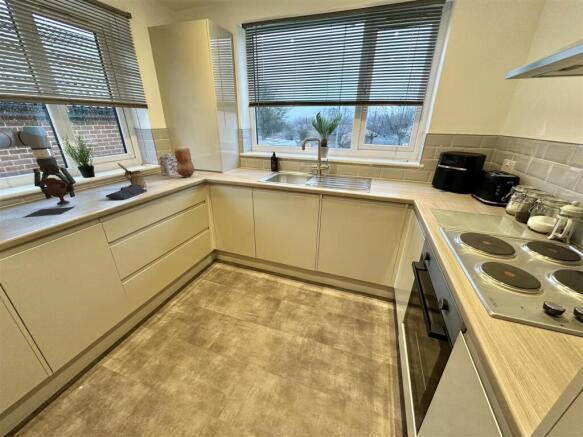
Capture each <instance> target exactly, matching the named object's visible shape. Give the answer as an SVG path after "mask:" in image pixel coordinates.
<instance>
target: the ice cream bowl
mask: <svg viewBox="0 0 583 437" xmlns="http://www.w3.org/2000/svg"><path fill="white" fill-rule="evenodd" d="M44 184H45V186H47V188H45V189H44V191H45V192H46V193H47V194H49V195H51V197H55V198H59V201H58V202H57V203H56V205H57V206H64V205H67V204H68V205H69V204H70V203H71V202H70V201H69V200H65V198H64V197H65V196H67V195H68V194H69V191H68V189H67V186H68V185H67V184H66V183H65V182H63V181H62V180H61V179H60V178H56V177H48V178H47V179H46V180H45V181H44Z"/></svg>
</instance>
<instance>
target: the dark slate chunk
mask: <svg viewBox="0 0 583 437" xmlns="http://www.w3.org/2000/svg"><path fill="white" fill-rule="evenodd" d="M147 191H148V190H147V188H144V187H143V188H142V186H140V185H135V184H131V183H130V184H129V185H127V186H126V185H125V186H122V187H120V190H116V191H114V192H111V193H108V194H106V195H105V198H108V199H116V200H127V199H130V198H134V197H136V196H139V195H142V194H143V193H147Z"/></svg>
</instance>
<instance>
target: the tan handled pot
mask: <svg viewBox="0 0 583 437" xmlns="http://www.w3.org/2000/svg"><path fill="white" fill-rule="evenodd" d="M116 164H117V165H118V166H119V167H120V168H121V169H122V170H123V171H124V177H125V179H127V180H128V182H130V185H131V184H135V185H140V186H142V188H143V189H144V188H146V187H147V183H146V181H145V179H144V176H143V173H142V171H141V170H133V171H131V170H129V169H128V168H126V167H125V166H124V165H123V164H122V163H119V162H117V163H116Z"/></svg>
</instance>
